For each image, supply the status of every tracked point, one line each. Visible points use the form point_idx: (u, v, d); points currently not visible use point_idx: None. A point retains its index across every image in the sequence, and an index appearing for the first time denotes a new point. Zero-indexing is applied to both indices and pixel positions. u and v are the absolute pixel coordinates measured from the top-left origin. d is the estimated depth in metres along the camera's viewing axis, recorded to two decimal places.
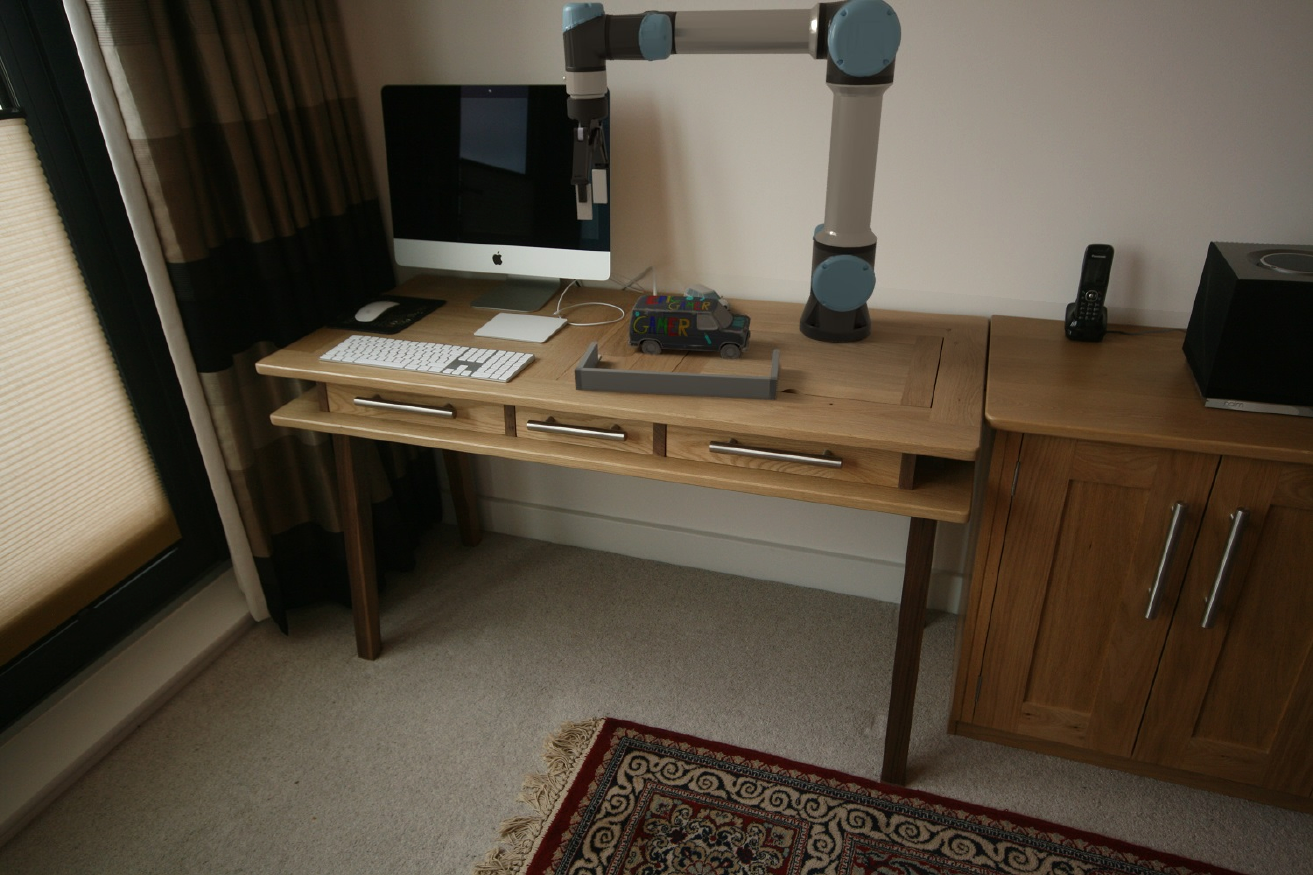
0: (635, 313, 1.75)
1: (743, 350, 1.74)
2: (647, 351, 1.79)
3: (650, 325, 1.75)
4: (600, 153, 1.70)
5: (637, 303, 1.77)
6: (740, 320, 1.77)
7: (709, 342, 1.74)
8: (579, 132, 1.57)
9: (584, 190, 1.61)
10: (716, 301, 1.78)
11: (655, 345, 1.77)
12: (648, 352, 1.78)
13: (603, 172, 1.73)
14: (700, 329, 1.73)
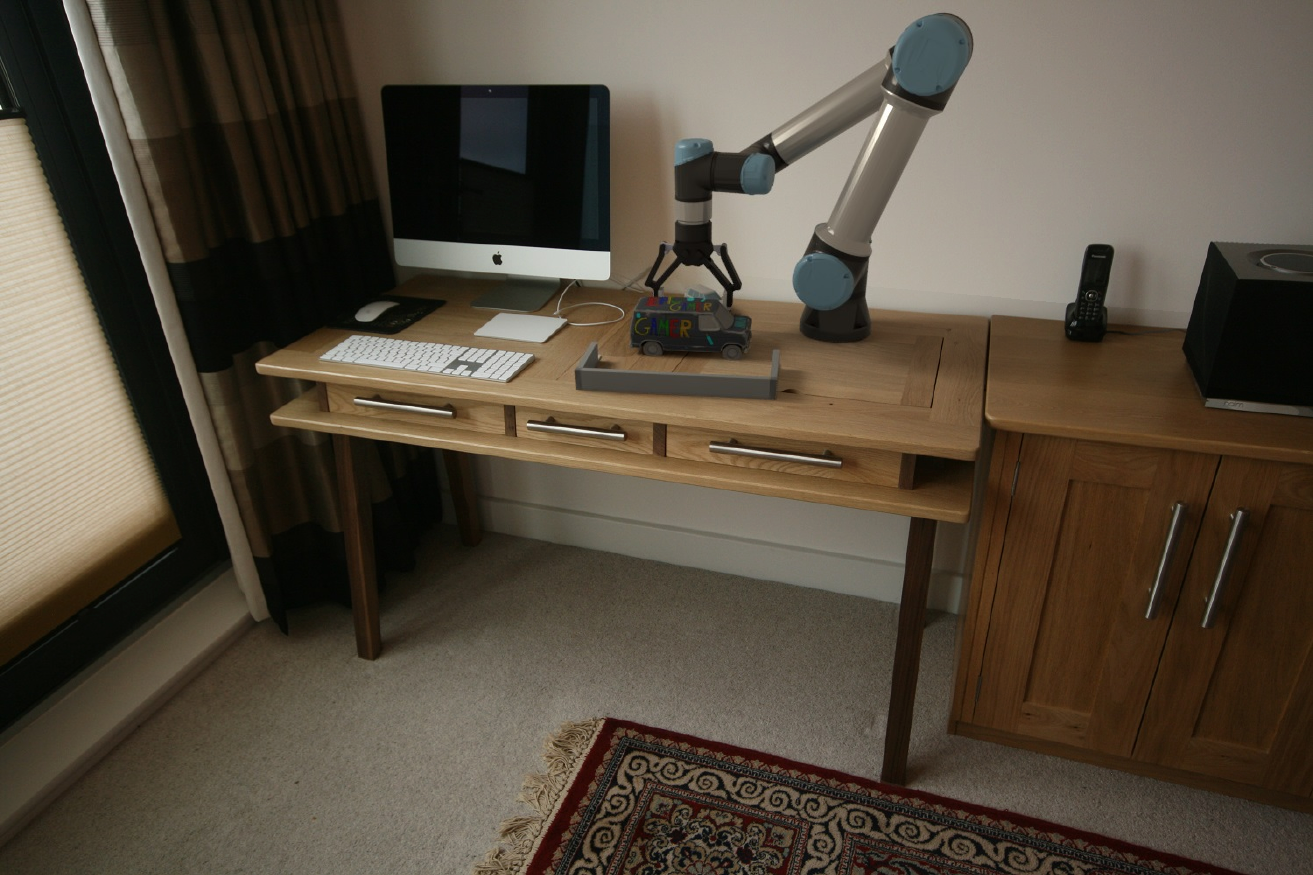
0: (636, 314, 1.74)
1: (745, 351, 1.73)
2: (648, 353, 1.78)
3: (651, 327, 1.74)
4: (714, 275, 1.78)
5: (638, 304, 1.77)
6: (741, 321, 1.77)
7: (711, 343, 1.74)
8: None
9: (653, 293, 1.83)
10: (717, 302, 1.77)
11: (657, 347, 1.76)
12: (649, 354, 1.78)
13: (723, 294, 1.80)
14: (702, 330, 1.73)
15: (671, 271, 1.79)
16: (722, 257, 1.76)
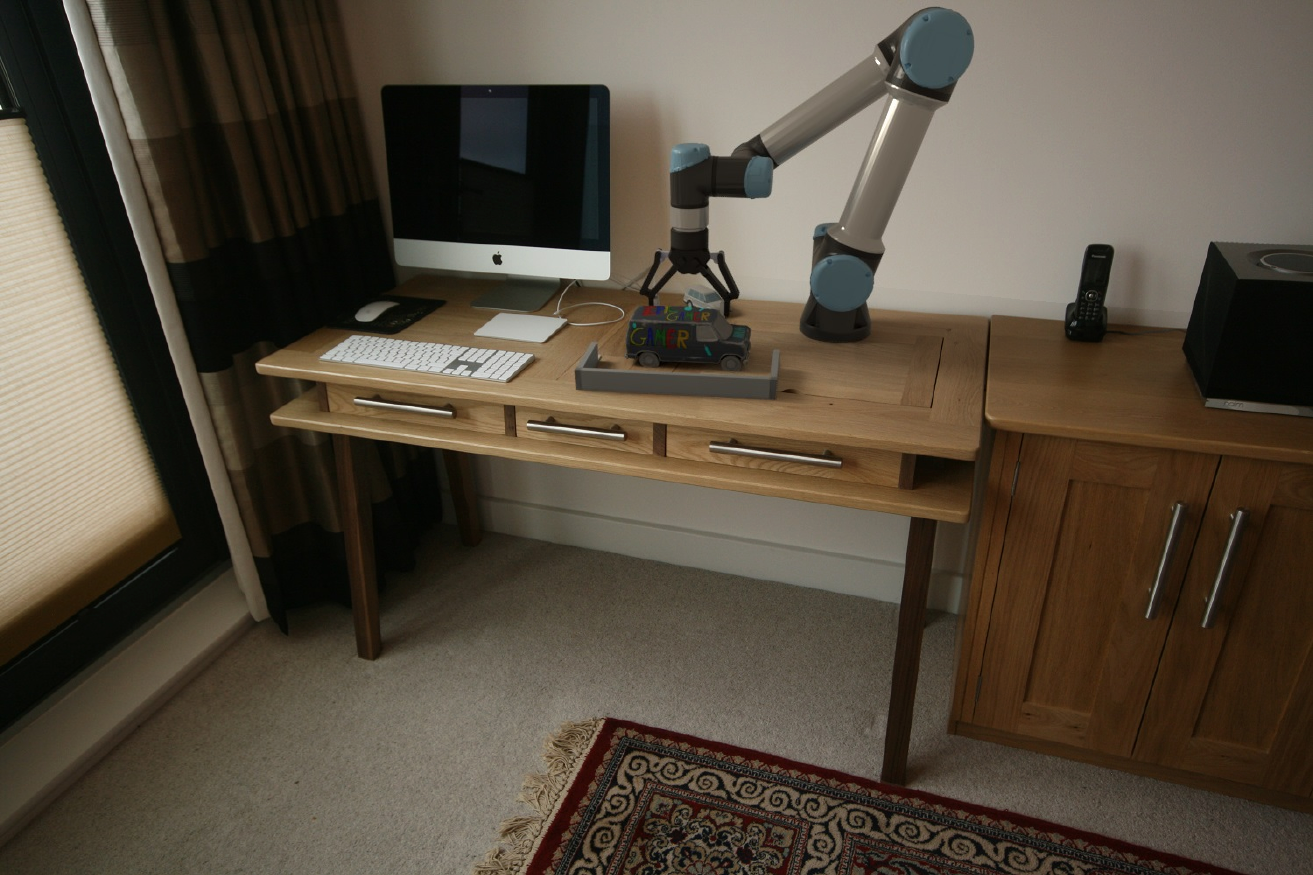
0: (632, 324, 1.69)
1: (744, 362, 1.68)
2: (644, 364, 1.73)
3: (647, 337, 1.69)
4: (711, 284, 1.73)
5: (634, 314, 1.72)
6: (740, 331, 1.72)
7: (709, 354, 1.69)
8: None
9: None
10: (715, 311, 1.72)
11: (653, 357, 1.71)
12: (646, 364, 1.73)
13: (720, 303, 1.75)
14: (699, 341, 1.68)
15: (667, 279, 1.74)
16: (719, 265, 1.71)
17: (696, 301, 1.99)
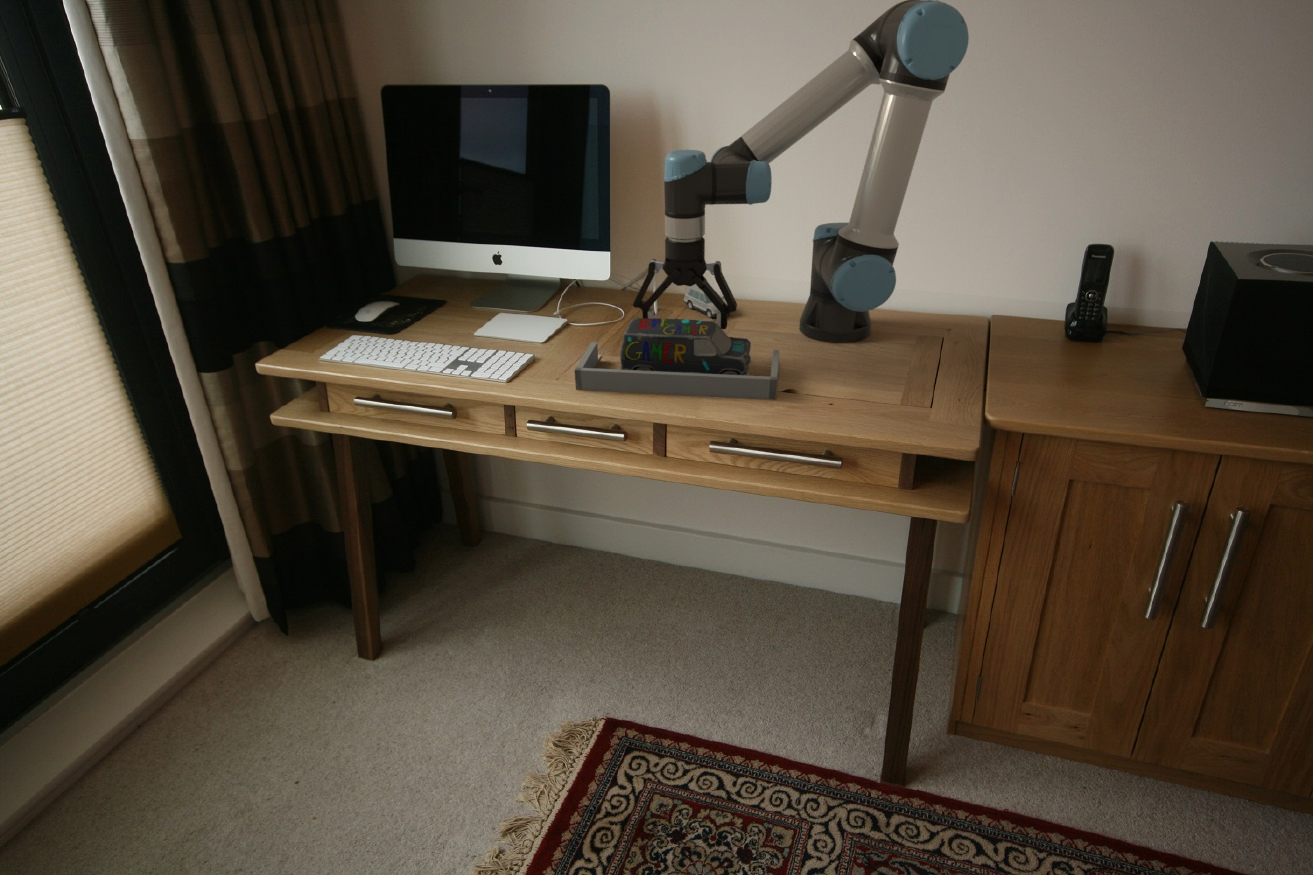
0: (627, 338, 1.63)
1: None
2: None
3: (643, 351, 1.63)
4: (707, 296, 1.67)
5: (629, 327, 1.65)
6: (740, 345, 1.65)
7: (708, 369, 1.62)
8: None
9: None
10: (714, 324, 1.65)
11: None
12: None
13: (717, 316, 1.69)
14: (697, 355, 1.61)
15: (661, 291, 1.68)
16: (716, 276, 1.65)
17: (696, 301, 1.99)
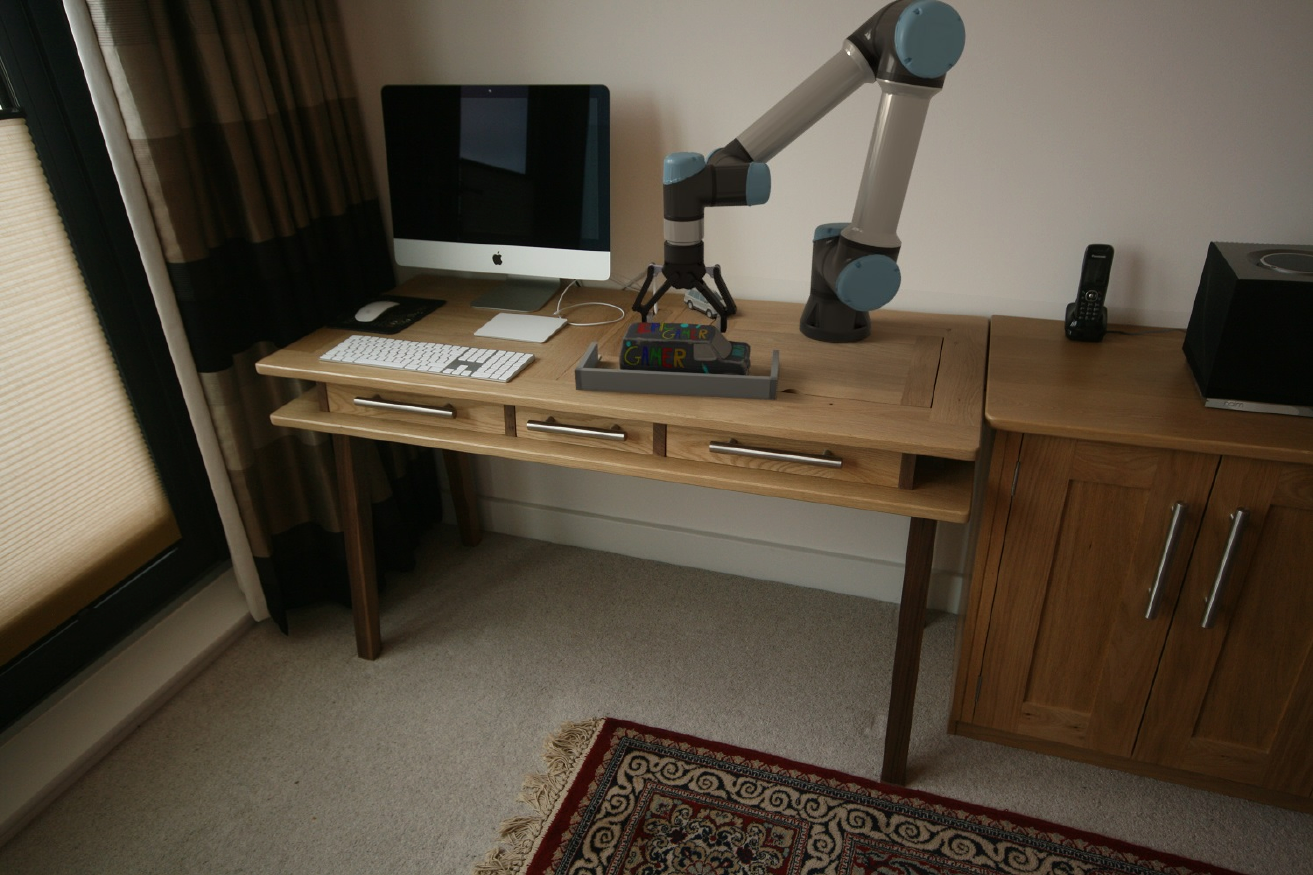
0: (626, 343, 1.61)
1: None
2: None
3: (642, 356, 1.61)
4: (707, 299, 1.65)
5: (628, 332, 1.63)
6: (739, 349, 1.63)
7: None
8: None
9: None
10: (713, 328, 1.64)
11: None
12: None
13: None
14: (697, 360, 1.60)
15: (660, 295, 1.66)
16: (715, 280, 1.63)
17: (696, 301, 1.99)
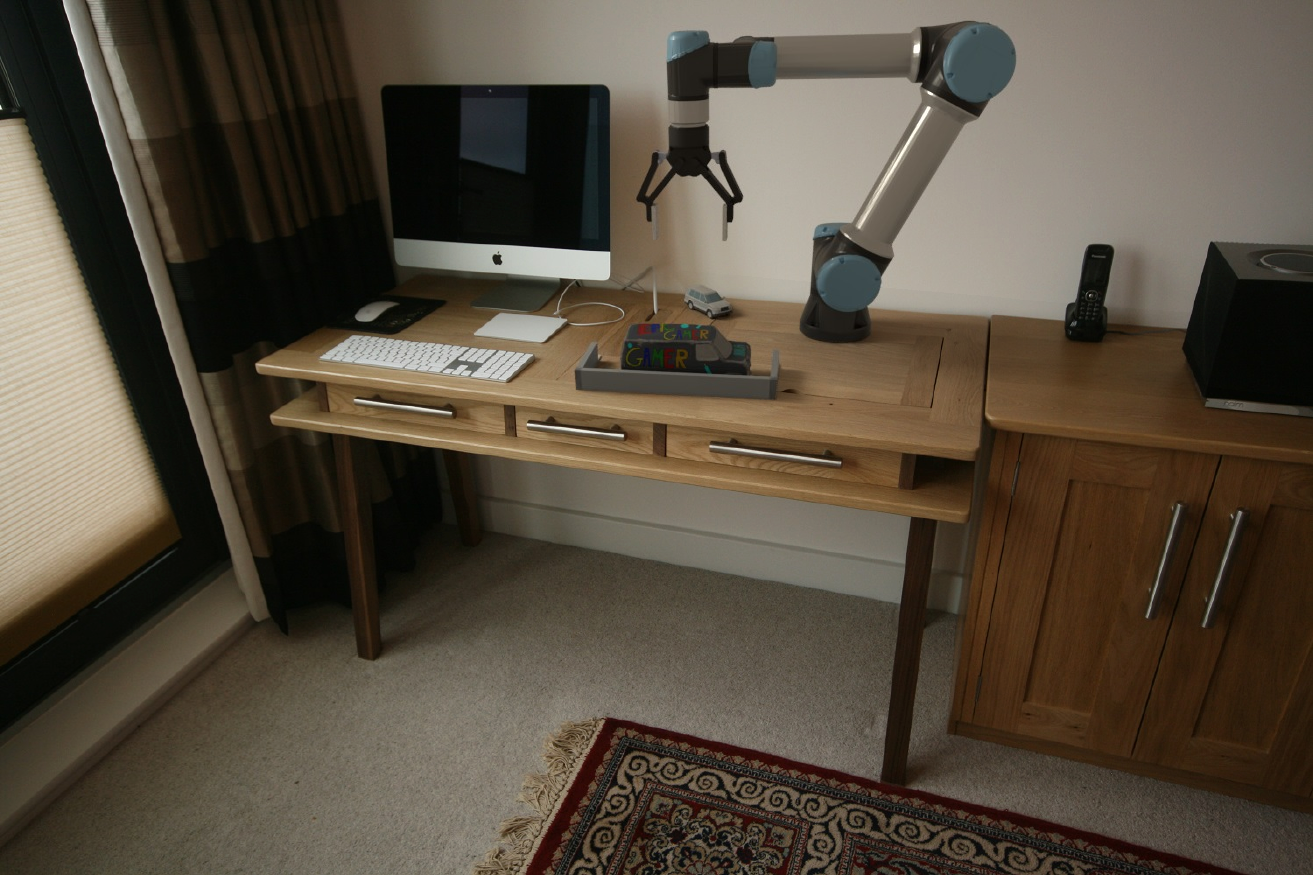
0: (627, 344, 1.60)
1: None
2: None
3: (644, 357, 1.60)
4: None
5: (628, 333, 1.63)
6: (740, 348, 1.64)
7: None
8: None
9: (646, 210, 1.67)
10: (714, 328, 1.64)
11: None
12: None
13: None
14: (699, 360, 1.59)
15: (665, 183, 1.63)
16: (721, 165, 1.60)
17: (697, 301, 1.99)
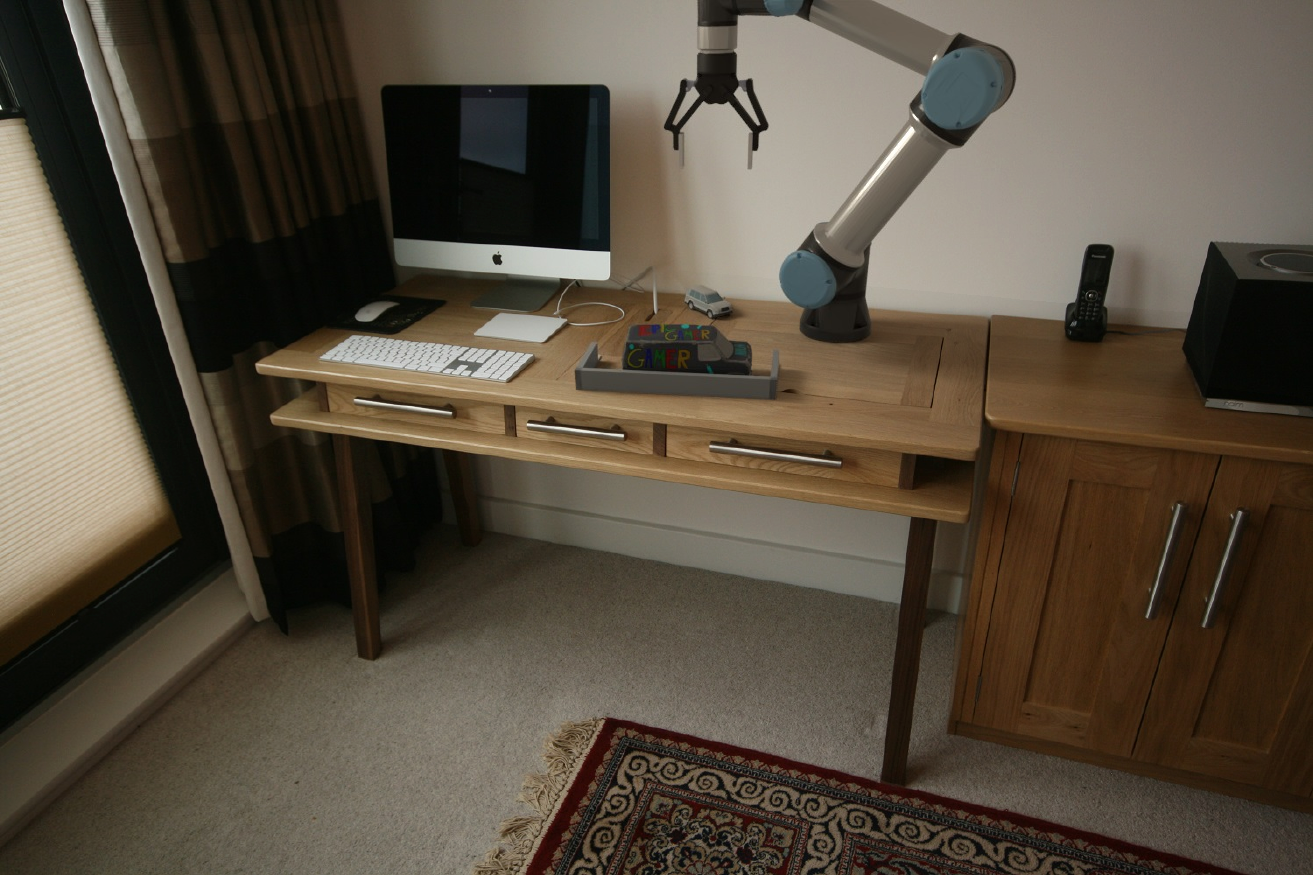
0: (628, 345, 1.60)
1: None
2: None
3: (646, 358, 1.60)
4: (739, 114, 1.66)
5: (629, 334, 1.62)
6: (741, 348, 1.64)
7: None
8: None
9: (673, 138, 1.70)
10: (714, 328, 1.64)
11: None
12: None
13: None
14: (701, 360, 1.59)
15: (693, 111, 1.67)
16: (748, 92, 1.64)
17: (697, 302, 1.99)
